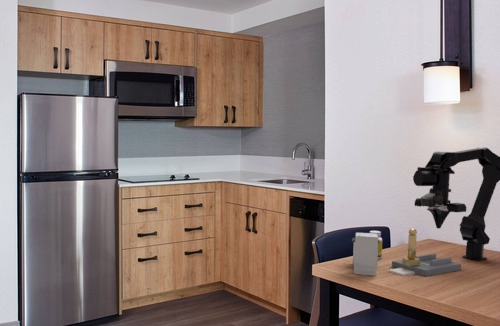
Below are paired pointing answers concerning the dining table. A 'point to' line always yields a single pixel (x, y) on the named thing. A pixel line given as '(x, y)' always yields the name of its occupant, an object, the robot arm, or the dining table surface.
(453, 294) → the dining table surface
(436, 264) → the lock plate
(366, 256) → the supplement box
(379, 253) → the supplement bottle
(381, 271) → the dining table surface
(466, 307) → the dining table surface
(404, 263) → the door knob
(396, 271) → the cover
